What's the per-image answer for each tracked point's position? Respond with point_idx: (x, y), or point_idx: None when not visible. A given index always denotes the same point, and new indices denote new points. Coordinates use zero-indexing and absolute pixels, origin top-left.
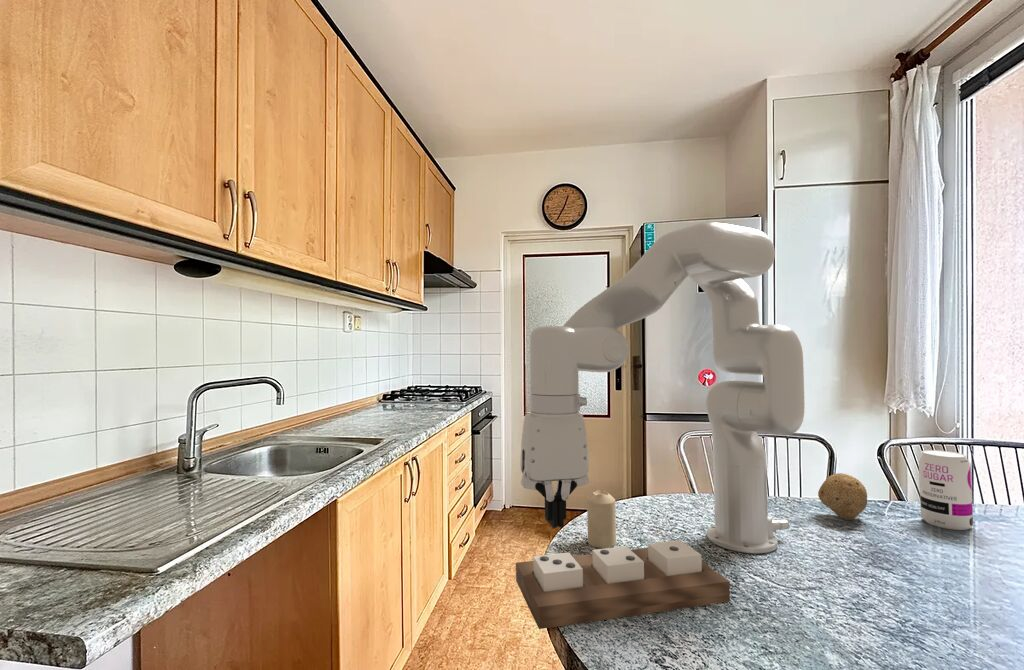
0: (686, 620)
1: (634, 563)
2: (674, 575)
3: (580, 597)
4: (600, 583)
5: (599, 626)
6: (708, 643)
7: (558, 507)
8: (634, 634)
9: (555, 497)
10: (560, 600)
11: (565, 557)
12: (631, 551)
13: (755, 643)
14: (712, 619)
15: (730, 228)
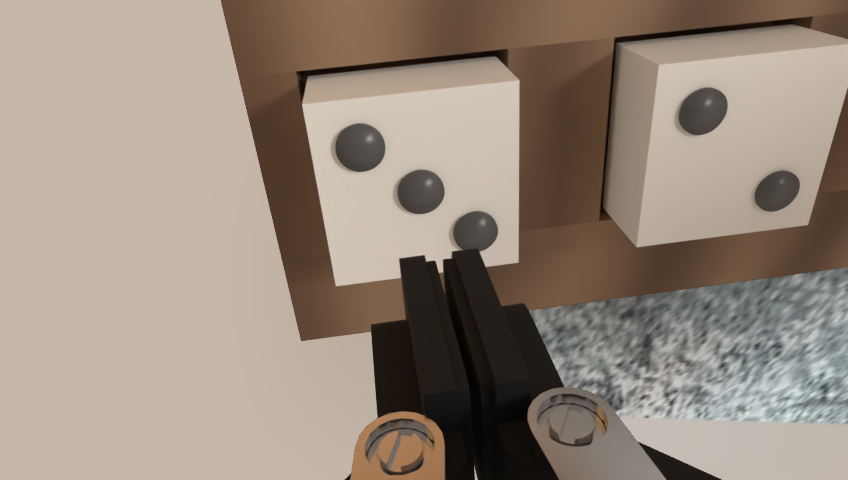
0: (748, 287)
1: (762, 229)
2: None
3: None
4: (577, 214)
5: None
6: (724, 371)
7: (475, 466)
8: (573, 332)
9: (497, 413)
10: (386, 310)
11: (478, 140)
12: (836, 114)
13: (822, 375)
14: (817, 289)
15: None
